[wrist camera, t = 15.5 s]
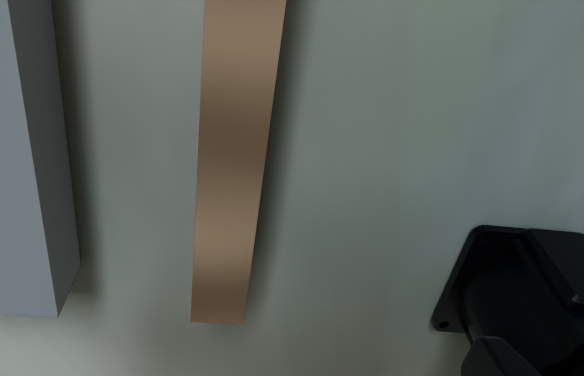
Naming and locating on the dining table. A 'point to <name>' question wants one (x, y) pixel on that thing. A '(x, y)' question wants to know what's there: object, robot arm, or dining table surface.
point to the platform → (33, 167)
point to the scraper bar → (232, 150)
